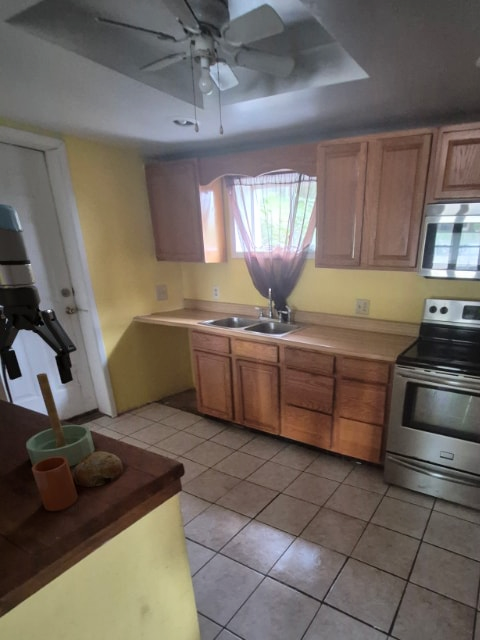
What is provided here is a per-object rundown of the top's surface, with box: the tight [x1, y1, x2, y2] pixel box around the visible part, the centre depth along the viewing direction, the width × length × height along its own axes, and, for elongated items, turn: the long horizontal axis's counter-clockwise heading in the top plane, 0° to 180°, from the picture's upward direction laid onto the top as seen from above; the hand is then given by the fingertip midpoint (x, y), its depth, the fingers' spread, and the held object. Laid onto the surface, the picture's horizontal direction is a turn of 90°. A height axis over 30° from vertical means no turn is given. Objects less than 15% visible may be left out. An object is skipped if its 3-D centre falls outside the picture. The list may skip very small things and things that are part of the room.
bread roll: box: [73, 451, 124, 488], centre depth 86 cm, size 10×10×8 cm
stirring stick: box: [36, 372, 68, 449], centre depth 91 cm, size 3×2×22 cm, turn 81°
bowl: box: [25, 424, 95, 468], centre depth 94 cm, size 14×14×6 cm
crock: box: [31, 456, 79, 512], centre depth 76 cm, size 6×6×10 cm
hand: (41, 380), depth 87 cm, fingers open, 13 cm apart
